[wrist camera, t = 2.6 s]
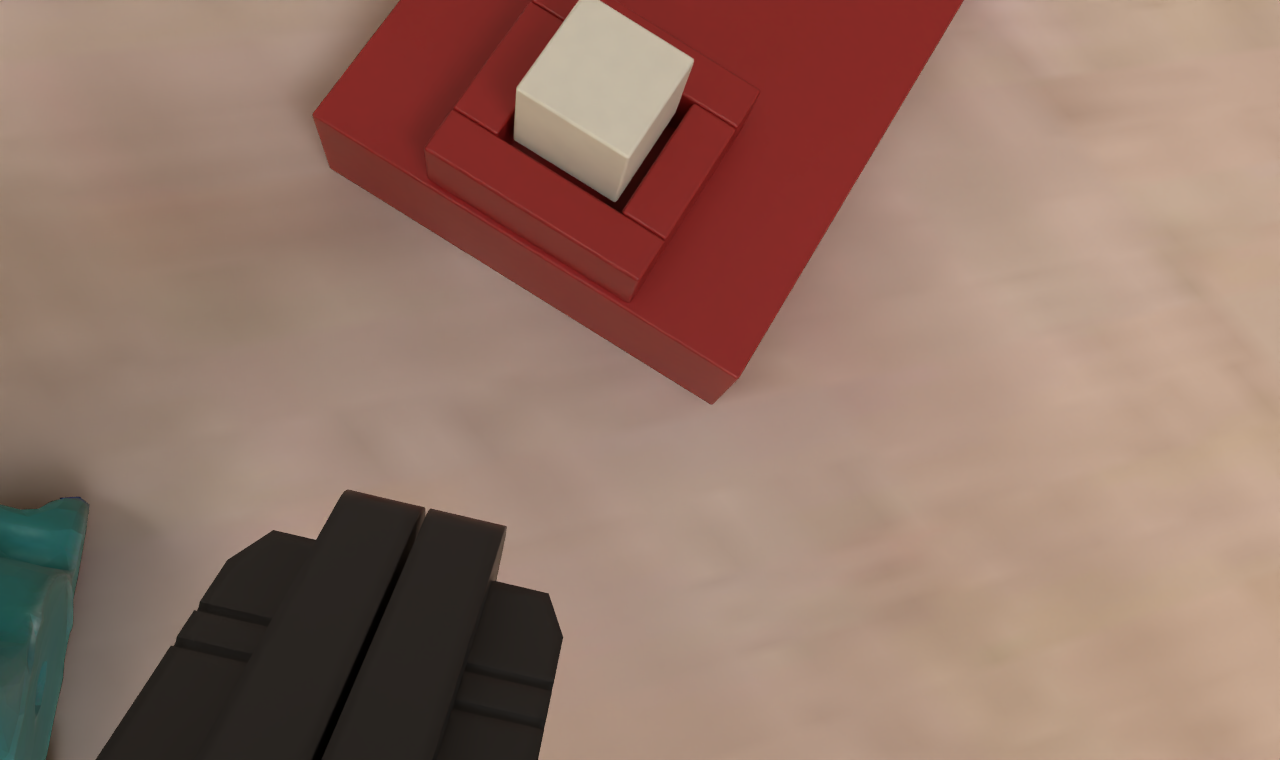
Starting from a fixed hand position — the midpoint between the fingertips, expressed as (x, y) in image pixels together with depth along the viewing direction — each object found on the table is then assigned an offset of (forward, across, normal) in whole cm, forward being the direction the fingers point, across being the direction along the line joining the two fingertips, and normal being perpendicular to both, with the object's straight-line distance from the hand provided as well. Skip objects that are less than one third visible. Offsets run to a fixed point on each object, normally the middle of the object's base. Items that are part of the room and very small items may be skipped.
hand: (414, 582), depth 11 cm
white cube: (+18, 0, 0) cm, 18 cm away
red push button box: (+24, -1, 0) cm, 24 cm away
